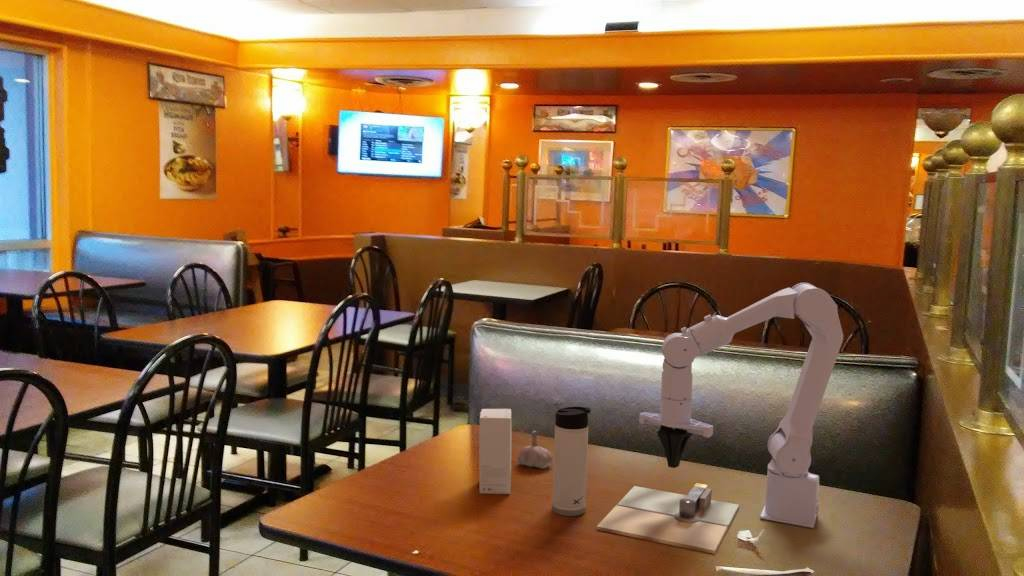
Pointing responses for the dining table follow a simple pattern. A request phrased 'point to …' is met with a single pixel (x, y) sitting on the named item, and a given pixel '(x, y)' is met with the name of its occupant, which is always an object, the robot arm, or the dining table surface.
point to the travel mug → (570, 461)
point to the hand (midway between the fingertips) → (673, 466)
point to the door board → (670, 519)
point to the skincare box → (495, 451)
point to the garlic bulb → (535, 455)
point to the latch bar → (691, 501)
